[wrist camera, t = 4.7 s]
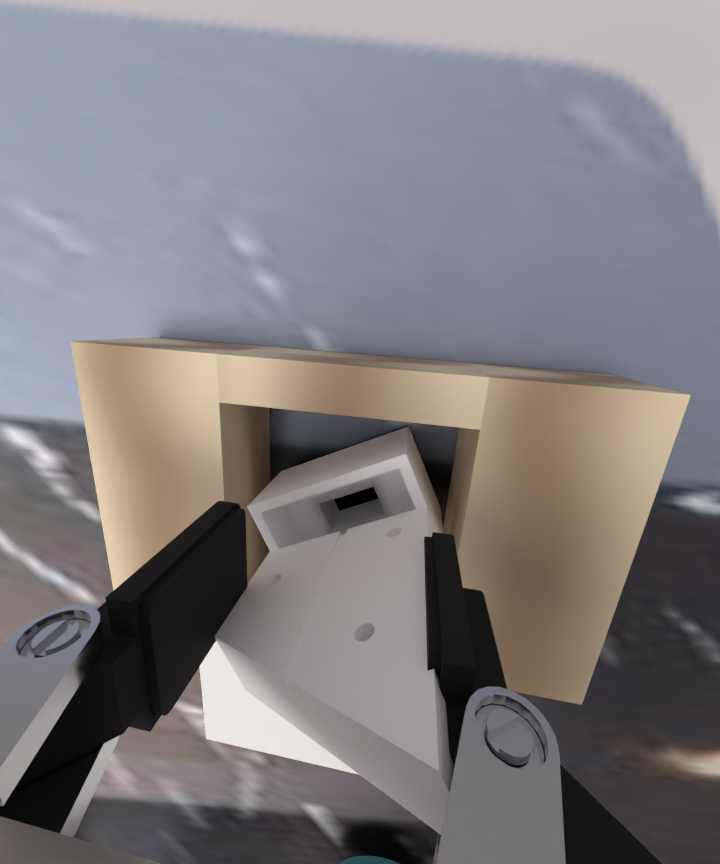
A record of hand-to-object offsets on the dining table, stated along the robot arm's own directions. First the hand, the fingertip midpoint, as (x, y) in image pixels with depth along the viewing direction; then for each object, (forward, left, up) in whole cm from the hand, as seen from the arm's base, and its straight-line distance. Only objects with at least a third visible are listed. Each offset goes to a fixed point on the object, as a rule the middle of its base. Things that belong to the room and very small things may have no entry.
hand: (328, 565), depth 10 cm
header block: (0, 0, -6) cm, 6 cm away
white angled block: (0, 0, -5) cm, 5 cm away
